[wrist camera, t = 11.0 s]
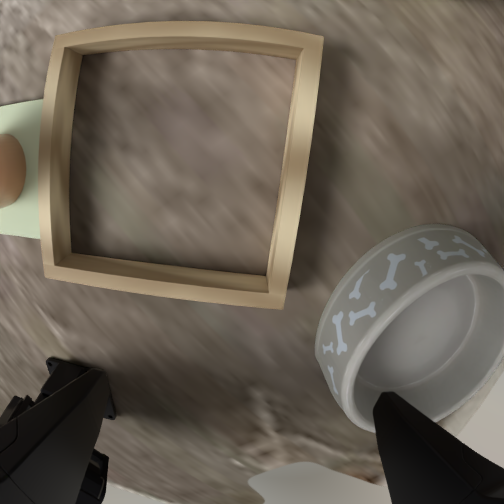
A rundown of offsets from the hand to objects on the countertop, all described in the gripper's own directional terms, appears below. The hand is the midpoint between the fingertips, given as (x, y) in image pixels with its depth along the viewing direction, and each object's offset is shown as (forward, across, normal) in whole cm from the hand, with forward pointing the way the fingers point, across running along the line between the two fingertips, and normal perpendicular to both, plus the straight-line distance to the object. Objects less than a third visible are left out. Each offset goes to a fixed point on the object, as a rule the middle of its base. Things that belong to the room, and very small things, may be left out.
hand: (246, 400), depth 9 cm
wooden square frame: (+12, +6, -6) cm, 14 cm away
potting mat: (+12, +19, -5) cm, 23 cm away
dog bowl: (+13, -15, +5) cm, 20 cm away
